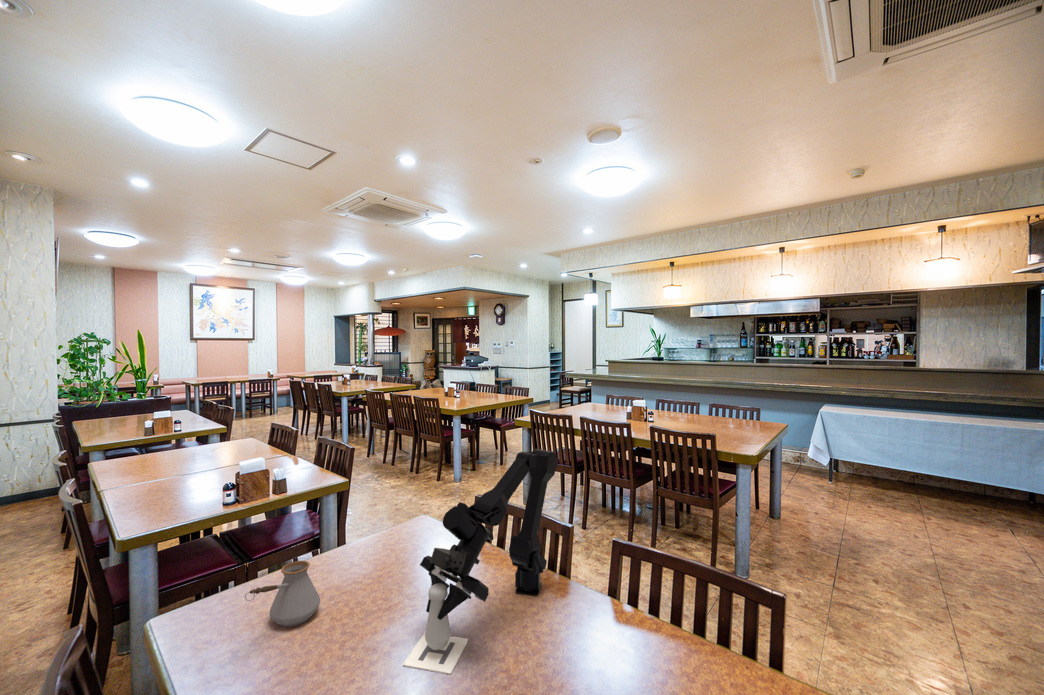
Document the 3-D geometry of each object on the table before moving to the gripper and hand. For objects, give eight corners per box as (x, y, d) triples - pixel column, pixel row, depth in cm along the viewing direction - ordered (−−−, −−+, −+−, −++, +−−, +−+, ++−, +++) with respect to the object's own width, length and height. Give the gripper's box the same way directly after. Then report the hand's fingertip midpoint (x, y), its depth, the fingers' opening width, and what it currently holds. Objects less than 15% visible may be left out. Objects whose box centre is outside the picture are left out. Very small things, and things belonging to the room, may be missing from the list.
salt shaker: (451, 651, 96) (451, 592, 96) (424, 654, 94) (424, 595, 94) (449, 633, 101) (450, 578, 101) (424, 637, 100) (425, 581, 100)
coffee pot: (290, 601, 117) (290, 546, 117) (329, 605, 115) (329, 549, 115) (224, 657, 96) (225, 590, 96) (271, 663, 94) (271, 594, 94)
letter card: (468, 640, 102) (468, 638, 102) (450, 674, 91) (450, 673, 91) (425, 633, 104) (425, 631, 104) (402, 666, 94) (402, 664, 94)
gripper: (425, 522, 107) (386, 586, 98) (479, 544, 95) (440, 619, 86) (450, 542, 113) (415, 604, 104) (503, 566, 101) (469, 638, 93)
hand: (433, 615), depth 97 cm, fingers closed on salt shaker, 3 cm apart
